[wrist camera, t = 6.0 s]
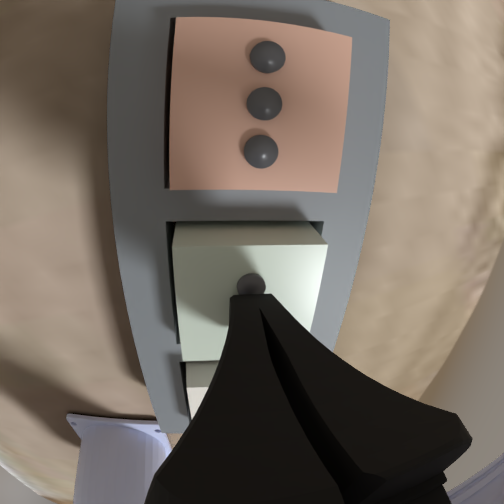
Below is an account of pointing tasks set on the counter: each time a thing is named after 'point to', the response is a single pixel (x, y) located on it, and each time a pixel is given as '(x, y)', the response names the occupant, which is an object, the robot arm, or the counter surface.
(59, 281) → the counter surface
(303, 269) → the tile
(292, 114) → the three-pip tile
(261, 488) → the robot arm
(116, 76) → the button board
